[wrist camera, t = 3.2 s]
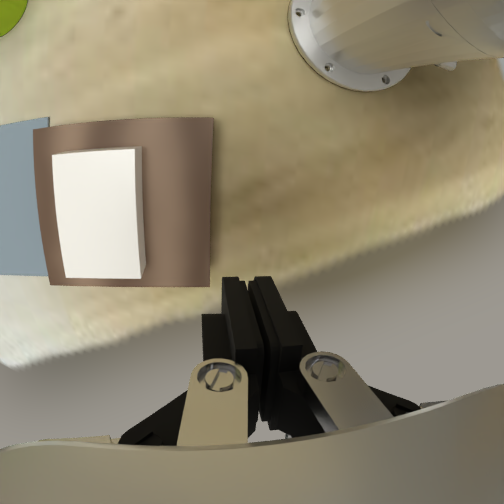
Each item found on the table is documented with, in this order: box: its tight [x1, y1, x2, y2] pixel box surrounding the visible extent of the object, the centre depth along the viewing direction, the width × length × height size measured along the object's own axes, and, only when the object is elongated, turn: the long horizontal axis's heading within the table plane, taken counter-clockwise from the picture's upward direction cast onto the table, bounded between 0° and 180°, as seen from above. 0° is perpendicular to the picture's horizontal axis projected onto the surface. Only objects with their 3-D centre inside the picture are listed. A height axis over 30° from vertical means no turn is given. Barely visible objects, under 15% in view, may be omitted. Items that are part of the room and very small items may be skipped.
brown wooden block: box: [33, 118, 214, 287], centre depth 24 cm, size 14×13×4 cm
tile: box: [52, 146, 146, 279], centre depth 21 cm, size 6×9×2 cm, turn 177°
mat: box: [0, 117, 49, 276], centre depth 24 cm, size 10×15×1 cm
